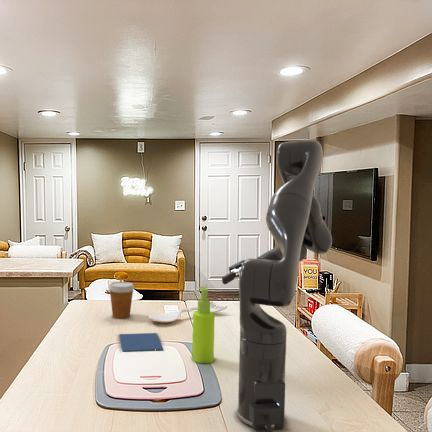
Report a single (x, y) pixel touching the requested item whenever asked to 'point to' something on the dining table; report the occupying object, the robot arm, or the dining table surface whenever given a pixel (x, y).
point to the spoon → (175, 315)
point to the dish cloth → (140, 342)
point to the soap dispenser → (203, 330)
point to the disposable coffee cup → (121, 298)
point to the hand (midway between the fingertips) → (232, 287)
